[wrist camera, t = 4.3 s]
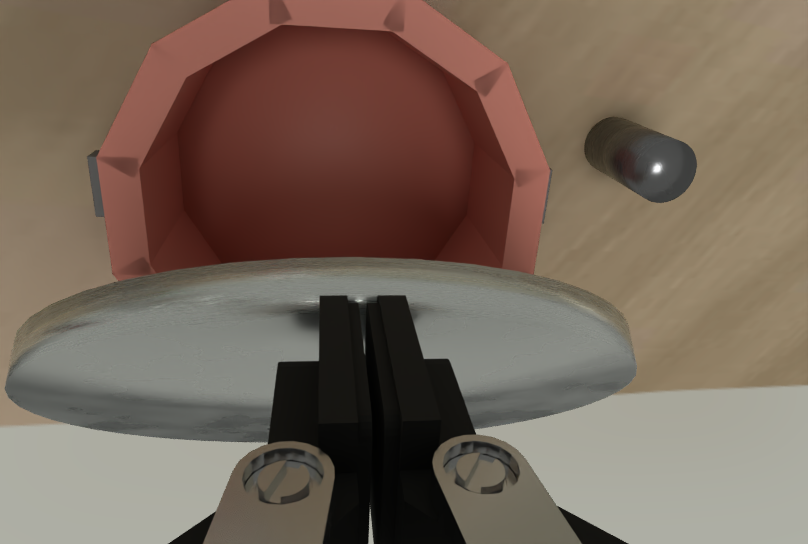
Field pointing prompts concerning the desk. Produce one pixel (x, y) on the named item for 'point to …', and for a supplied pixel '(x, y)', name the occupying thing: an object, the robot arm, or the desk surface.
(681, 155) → the cylinder
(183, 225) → the pot
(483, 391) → the lid
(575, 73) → the desk surface
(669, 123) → the desk surface
